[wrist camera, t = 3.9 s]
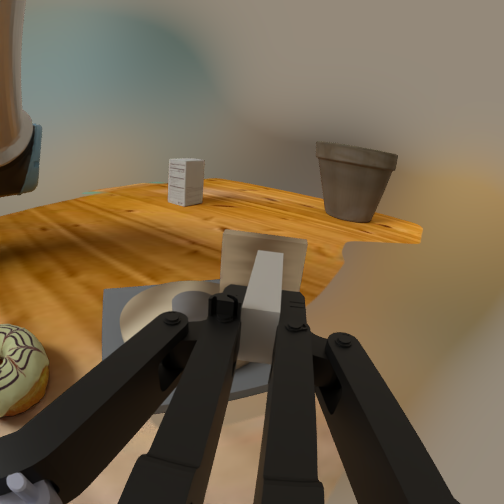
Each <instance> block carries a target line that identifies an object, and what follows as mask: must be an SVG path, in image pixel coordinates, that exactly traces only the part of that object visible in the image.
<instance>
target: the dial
mask: <svg viewBox="0 0 504 504" xmlns="http://www.w3.org/2000/svg"><path fill="white" fill-rule="evenodd" d="M258 250H262V251H270V252H278V253H283V273H282V290H287V291H295V292H299V290H300V284H301V279H302V273H303V268H304V262H305V256H306V250H307V240H306V239H298V238H291V237H283V236H275V235H268V234H260V233H252V232H244V231H236V230H228V229H226V230H225V231H224V233H223V241H222V256H221V273H220V284H218V283H213V282H205V281H178V282H170V283H165V284H161V285H157V286H154V287H151V288H149V289H146V290H144V291H142V292H141V293H139V294H137V295H136V296H134V297H133V298H132V299H131V300H130V301H129V302H128V303H127V304H126V305H125V307H124V308H123V310H122V312H121V316H120V329H121V334H122V339H123V341H124V343H125V342H126V341H127V340H129V339H130V338H131V337H132V336H134V335H135V334H136V333H137V332H139V331H140V330H141V329H142V328H144V327H145V326H146V325H147V324H148V323H150V322H151V321H152V320H153V319H155V318H156V317H157V316H158V315H160V314H162V313H164V312H168V311H177V312H181V313H183V314H185V315H186V316H187V317H188V322H191V321H203V320H206V319H207V317H208V298H209V297H210V296H211V295H214V294H216V293H223V291H224V288H225V287H227V286H228V285H230V284H235V285H242V286H248V284H249V280H250V277H251V273H252V270H253V266H254V263H255V259H256V255H257V252H258ZM237 358H238V356H237ZM248 363H249V361H242V360H237V363H236V369H238V368H240V367H242V366H244V365H246V364H248Z"/></svg>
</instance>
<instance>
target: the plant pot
mask: <svg viewBox="0 0 504 504" xmlns="http://www.w3.org/2000/svg"><path fill="white" fill-rule="evenodd" d="M316 157H318V159H319V167H320V174H321V182H322V189H323V197H324V205H325V210H326V213H327V214H329V215H331V216H333V217H335V218H338V219H342V220H347V221H352V222H369V221H370V220H371V219H372V217H373V215H374V213H375V211H376V209H377V206H378V204H379V202H380V199H381V197H382V195H383V193H384V190H385V188H386V186H387V183H388V181H389V178H390V176H391V173H392V171H394V170H395V169H396V164H397V158H398V155H396V154H392V153H387V152H382V151H378V150H372V149H367V148H362V147H356V146H350V145H344V144H337V143H330V142H321V141H317V142H316Z"/></svg>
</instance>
